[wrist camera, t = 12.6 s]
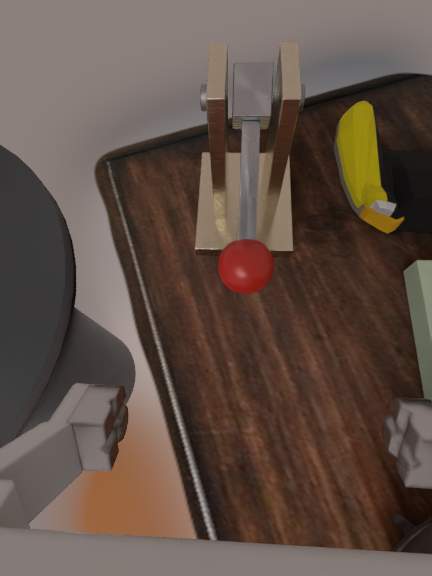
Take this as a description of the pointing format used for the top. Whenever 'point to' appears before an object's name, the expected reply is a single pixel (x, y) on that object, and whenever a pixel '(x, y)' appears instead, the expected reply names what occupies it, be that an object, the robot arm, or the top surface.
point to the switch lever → (249, 180)
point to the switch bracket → (226, 166)
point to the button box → (421, 317)
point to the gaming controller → (382, 175)
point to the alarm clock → (414, 536)
